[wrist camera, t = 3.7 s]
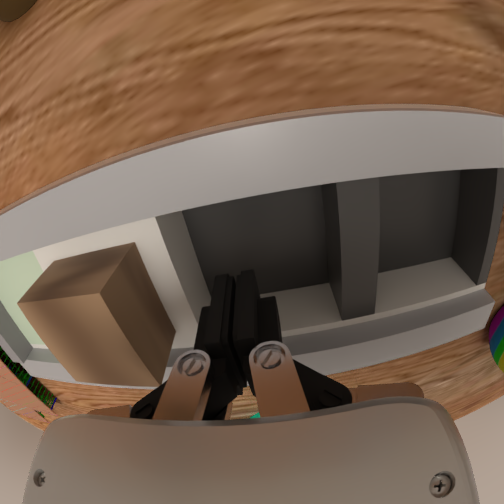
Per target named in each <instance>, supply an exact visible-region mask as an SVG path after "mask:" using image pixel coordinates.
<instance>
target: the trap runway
mask: <svg viewBox="0 0 504 504" xmlns="http://www.w3.org/2000/svg"><path fill="white" fill-rule="evenodd" d="M503 204H504V115H501V114H497V113H493V112H488V111H484V110H479V109H474V108H469V107H460V106H448V105H431V104H369V105H350V106H337V107H326V108H316V109H308V110H300V111H292V112H285V113H279V114H273V115H267V116H261V117H255V118H250V119H245V120H240V121H235V122H230V123H226V124H221V125H217V126H213V127H209V128H205V129H201V130H197V131H193V132H189V133H185V134H182V135H178V136H175V137H171V138H168V139H164V140H161V141H158V142H155V143H152V144H148V145H145V146H142V147H139V148H136V149H133V150H131V151H128V152H125V153H122V154H119V155H117V156H114V157H111V158H109V159H106V160H103V161H101V162H98V163H96V164H93V165H91V166H88V167H86V168H84V169H81V170H79V171H77V172H74V173H72V174H70V175H68V176H65V177H63V178H61V179H59V180H57V181H55V182H52V183H50V184H48V185H46V186H44V187H42V188H40V189H38V190H36V191H34V192H32V193H30V194H29V195H27V196H25V197H23V198H21V199H19V200H17V201H16V202H14V203H12V204H10V205H9V206H7V207H5V208H3V209H2V210H0V346H1V347H2V348H3V350H4V351H5V352H6V354H7V355H8V356H9V357H10V358H11V360H12V361H13V362H17V363H20V364H21V365H22V366H23V367H24V368H25V370H26V371H27V372H28V373H29V374H30V375H31V376H34V377H39V378H45V379H50V380H56V381H63V382H70V383H77V384H86V385H95V386H105V387H118V388H135V389H156V388H157V387H141V386H121V385H107V384H95V383H86V382H77V381H75V379H74V378H73V377H72V376H71V375H70V374H69V373H68V372H67V370H66V369H65V368H64V367H63V366H62V365H61V363H60V362H59V361H58V360H57V359H56V357H55V356H54V355H53V354H52V352H51V351H50V350H49V349H48V347H47V346H46V345H45V343H44V342H43V341H42V339H41V338H40V337H39V335H38V334H37V333H36V331H35V330H34V328H33V327H32V326H31V324H30V323H29V321H28V320H27V318H26V317H25V315H24V314H23V312H22V311H21V309H20V308H19V306H18V305H17V302H18V301H19V300H20V299H21V298H22V296H23V295H24V294H25V293H26V292H27V290H28V289H29V288H30V287H31V286H32V285H33V283H34V282H35V281H36V280H37V279H38V278H39V277H40V275H41V274H42V273H43V272H44V271H45V270H46V269H47V268H48V267H49V266H50V265H51V263H52V262H53V261H55V260H59V259H63V258H68V257H72V256H76V255H80V254H84V253H88V252H93V251H97V250H101V249H106V248H110V247H114V246H119V245H123V244H128V243H132V242H135V244H136V246H137V248H138V251H139V253H140V256H141V258H142V260H143V263H144V265H145V267H146V269H147V272H148V274H149V276H150V278H151V281H152V283H153V285H154V287H155V289H156V292H157V294H158V296H159V298H160V300H161V302H162V304H163V306H164V308H165V310H166V312H167V314H168V316H169V318H170V320H171V322H172V324H173V326H174V328H175V330H176V333H175V337H174V340H173V344H172V348H171V351H170V355H169V359H168V362H167V366H166V370H165V374H164V378H163V381H162V384H163V383H164V382H165V381H167V380H168V378H169V375H170V373H171V370H172V368H173V365H174V363H175V361H176V360H177V358H178V357H179V356H180V355H182V354H183V353H185V352H187V351H190V350H193V349H194V344H195V338H196V333H197V328H198V323H199V318H200V313H201V309H202V307H204V306H210V302H211V297H212V291H213V285H214V280H215V276H216V275H221V274H227V273H228V274H229V276H234V279H235V282H236V276H237V275H241V271H245V270H251V269H254V272H255V276H256V281H257V285H258V289H259V293H260V298H265V297H271V296H275V297H276V302H277V307H278V312H279V318H280V325H281V334H282V343H283V344H285V345H286V346H287V347H288V349H289V351H290V353H291V356H292V359H294V360H296V361H298V362H300V363H302V364H304V365H305V366H307V367H309V368H311V369H313V370H315V371H317V372H319V373H321V374H323V375H330V374H335V373H340V372H345V371H349V370H354V369H358V368H363V367H367V366H371V365H375V364H379V363H383V362H387V361H390V360H394V359H398V358H401V357H405V356H408V355H411V354H414V353H418V352H421V351H424V350H427V349H430V348H433V347H436V346H439V345H442V344H445V343H447V342H450V341H453V340H455V339H458V338H461V337H463V336H466V335H468V334H471V333H473V332H476V331H478V330H481V329H483V328H485V325H486V323H487V321H488V318H489V316H490V313H491V311H492V308H493V306H494V303H495V301H494V299H493V298H492V297H491V296H490V295H489V293H488V292H487V291H486V290H485V289H484V287H485V284H486V281H487V278H488V274H489V271H490V267H491V263H492V260H493V256H494V251H495V247H496V243H497V238H498V233H499V228H500V223H501V217H502V211H503ZM247 386H249V384H248V381H247Z"/></svg>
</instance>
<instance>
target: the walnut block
mask: <svg viewBox="0 0 504 504" xmlns="http://www.w3.org/2000/svg"><path fill="white" fill-rule="evenodd" d="M17 305H18V306H19V308H20V309H21V311H22V312H23V314H24V315H25V317H26V318H27V320H28V321H29V323H30V324H31V326H32V327H33V328H34V330H35V331H36V333H37V334H38V335H39V337H40V338H41V339H42V341H43V342H44V343H45V345H46V346H47V347H48V349H49V350H50V351H51V352H52V354H53V355H54V356H55V357H56V359H57V360H58V361H59V362H60V363H61V365H62V366H63V367H64V368H65V369H66V370H67V372H68V373H69V374H70V375H71V376H72V377H73V378H74V379H75V381H77V382H86V383H95V384H107V385H121V386H141V387H159V386H160V385H161V384H162V381H163V378H164V374H165V370H166V366H167V362H168V359H169V355H170V351H171V348H172V344H173V340H174V337H175V333H176V330H175V328H174V326H173V324H172V322H171V320H170V318H169V316H168V314H167V312H166V310H165V308H164V306H163V304H162V302H161V300H160V298H159V296H158V294H157V292H156V289H155V287H154V285H153V283H152V281H151V278H150V276H149V274H148V272H147V269H146V267H145V265H144V263H143V260H142V258H141V256H140V253H139V251H138V248H137V246H136V244H135V242H132V243H128V244H123V245H119V246H114V247H110V248H106V249H101V250H97V251H93V252H88V253H84V254H80V255H76V256H72V257H68V258H63V259H59V260H55V261H53V262H52V263H51V265H50V266H49V267H48V268H47V269H46V270H45V271H44V272H43V273H42V274H41V275H40V277H39V278H38V279H37V280H36V281H35V282H34V283H33V285H32V286H31V287H30V288H29V289H28V290H27V292H26V293H25V294H24V295H23V296H22V298H21V299H20V300H19V301H18V302H17Z"/></svg>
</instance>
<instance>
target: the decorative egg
mask: <svg viewBox="0 0 504 504" xmlns="http://www.w3.org/2000/svg"><path fill="white" fill-rule="evenodd" d="M489 345H490V350H491V353H492V356H493V358H494V360H495V362H496V364H497V365H498V367H499V368H500V369H501V370H502V371H503V372H504V306H502V307H501V309H500V310H499V311H498V312H497V314H496V315H495V317H494V318H493V320H492V322H491V325H490V328H489Z"/></svg>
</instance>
